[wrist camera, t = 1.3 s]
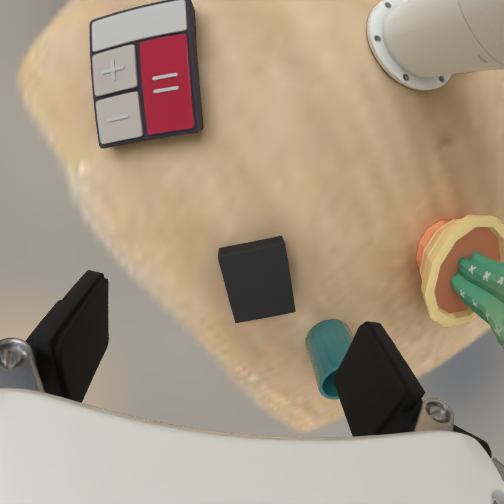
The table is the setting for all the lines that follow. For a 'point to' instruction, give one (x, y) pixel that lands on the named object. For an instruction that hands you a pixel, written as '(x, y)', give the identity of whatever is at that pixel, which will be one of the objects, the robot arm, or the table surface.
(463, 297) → the potted cactus
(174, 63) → the calculator
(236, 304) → the black box
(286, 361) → the table surface
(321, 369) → the cup
